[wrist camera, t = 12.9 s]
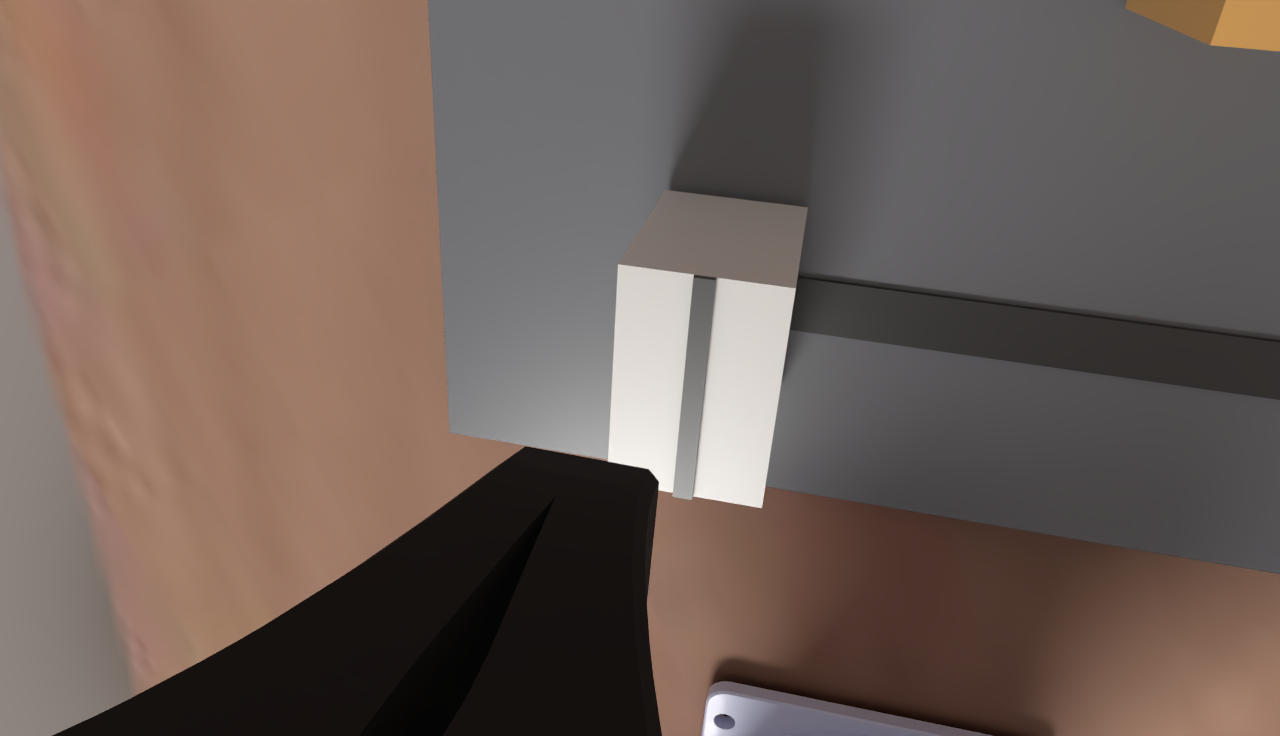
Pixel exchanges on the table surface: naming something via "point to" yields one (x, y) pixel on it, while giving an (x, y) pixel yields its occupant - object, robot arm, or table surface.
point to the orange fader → (1218, 20)
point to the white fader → (704, 343)
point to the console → (896, 245)
